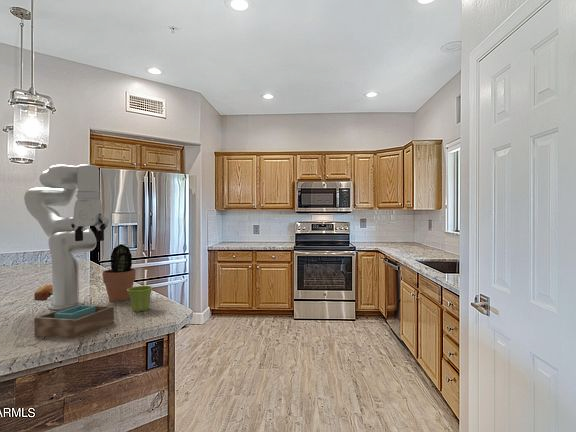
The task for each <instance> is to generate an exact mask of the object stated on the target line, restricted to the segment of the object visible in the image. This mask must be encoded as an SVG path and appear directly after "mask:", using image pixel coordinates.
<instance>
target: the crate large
mask: <svg viewBox="0 0 576 432" xmlns="http://www.w3.org/2000/svg"><path fill="white" fill-rule="evenodd" d="M85 305H86V304H85ZM75 306H79V305H73V306H70V307H67V308H64V309H59V310H55V311H54V310H53V311H52V312H48V313H45V314H42V315H39V316H36V317H34V319H33V321H34V322H33V325H34V336H35V337H36V336H37V337H49V338H50V337H52V338H61V337H62V338H64V339H65V338H66V339H75V338H76V339H79V338H81V337H84V336H86V335H88V334H90V332H91V333H92V332H96V331H97V330H100V329H102V328H104V327H106V325H107V326H108V325H112V324H113V322H115V321H114V320H115V316H114V315H115V311H114V306H112V305H111V306H110V305H93V304H92V305H89V304H88V305H86V306H95V309H96V312H95V313H92V314H90V315H87V316H84V317H81V318H79V319H60V318H55V316H54V313H57V312H60V311H63V310H66V309H69V308H72V307H75ZM101 327H102V328H101ZM99 328H100V329H99Z"/></svg>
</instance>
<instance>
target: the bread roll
mask: <svg viewBox="0 0 576 432" xmlns="http://www.w3.org/2000/svg"><path fill="white" fill-rule="evenodd" d="M33 294H34V295H33V296H34V299H35V300H37V301H45V300H46V301H47V298H49V297H50V296H53V288H52V283H51V284H45V285H42V286H39V287H38V288H37V289H36V291H35V292H34V293H33Z"/></svg>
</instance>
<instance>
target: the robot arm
mask: <svg viewBox="0 0 576 432" xmlns="http://www.w3.org/2000/svg"><path fill="white" fill-rule="evenodd" d="M39 182H40V184H41V186H43V187H33V188H30V189H28V190H27V191H26V192H25V193H24V197H23V200H24V205H25V207H26V210H27V211H28V212H29V214H30V215H31V216H32V217H33V218H34V220H36V221H37V222H38V224H39V225H40V227H41V229H42V230H43V232H44V233H45V235H46V236H47V237H48V248H49V251H50V252H49V253H50V259H51V276H52V277H51V279H52V280H51V281H52V283H51V285H52V288H53V296H50V297H49V298H47V300H46V301H47V302H50V304H48V308H47V309H49V310H53V311H54V310H55V311H58V310H61V309H64V308H67V307H70V306H73V305H85V304H84V300H82V299H80V269H79V267H80V266H79V262H78V260H77V259H76V257H74V255H73V254H80V253H88V252H92V251H93V250H95V248H96V247H97V242H102V241H104V240H105V231H106V228H107V227H108V224H109V222H110V218H108V217H106V216H105V215H104V210H103V205H102V201H101V199H100V193H101V192H100V169H99V167H98V166H97V165H95V164H79V165H67V164H56V165H55V164H54V165H51V166H50V167H49V168H48V169H47V170H44V171H43V172H41V174H40V175H39ZM75 193H76V195H75ZM74 195H75V197H76V199H77V200H75V202H74V207H73V208H74V209H73V216H71V217H69V216H67V217H65V216H61V214H60V213H59V212H58V211H57V210H56V209H55V208H52V207H67V206H68V205H69V204H70V203H71V201H72V200H73V198H74ZM93 226H94V227H95V228H96V231H95V232H94V231H92V230H93V229H92V228H90V227H93Z"/></svg>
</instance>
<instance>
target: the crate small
mask: <svg viewBox="0 0 576 432" xmlns="http://www.w3.org/2000/svg"><path fill="white" fill-rule="evenodd" d="M95 306H96V305H93V306H86V304H83V305H79V306H75V307H72V308H69V309H66V310H63V311H60V312H57V313H54V316H55V318H60V319H79V318H81V317H84V316H87V315H90V314H92V313H95V312H96V309H95Z"/></svg>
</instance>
